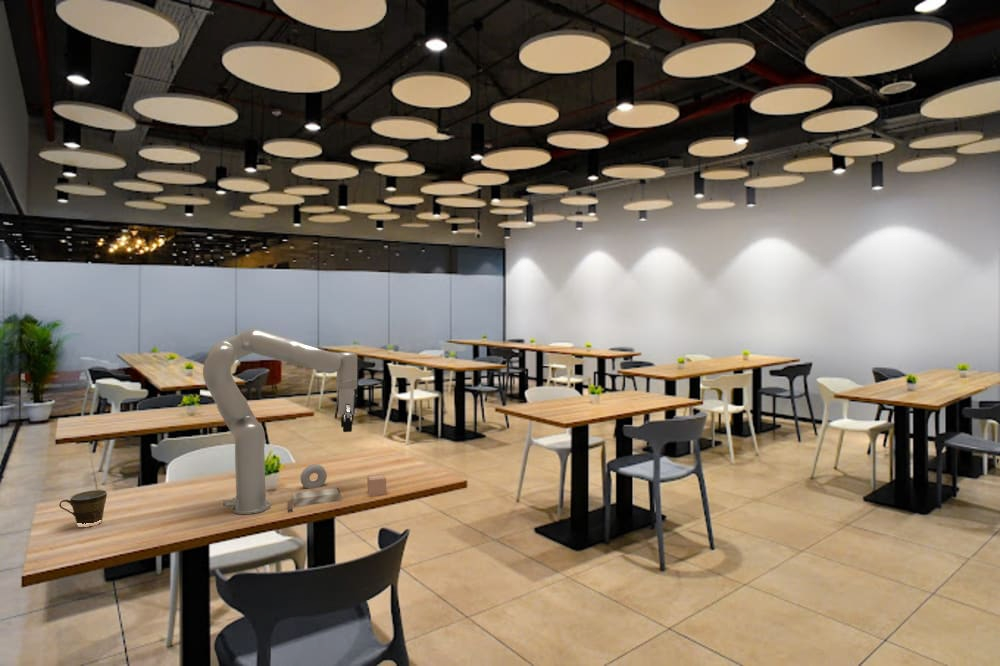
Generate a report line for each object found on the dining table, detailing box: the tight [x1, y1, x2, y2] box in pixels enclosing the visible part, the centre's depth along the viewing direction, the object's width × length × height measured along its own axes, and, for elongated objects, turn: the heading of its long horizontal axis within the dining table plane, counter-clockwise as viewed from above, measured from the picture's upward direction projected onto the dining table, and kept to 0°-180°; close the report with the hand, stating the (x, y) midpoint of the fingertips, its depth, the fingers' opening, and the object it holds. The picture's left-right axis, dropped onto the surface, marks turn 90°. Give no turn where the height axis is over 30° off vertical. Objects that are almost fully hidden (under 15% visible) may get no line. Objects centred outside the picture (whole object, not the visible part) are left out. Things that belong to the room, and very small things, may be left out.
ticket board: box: [286, 487, 342, 513], centre depth 213 cm, size 36×10×4 cm, turn 111°
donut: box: [300, 463, 328, 489], centre depth 227 cm, size 10×4×10 cm, turn 121°
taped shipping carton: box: [366, 473, 387, 497], centre depth 218 cm, size 6×6×6 cm
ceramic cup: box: [58, 489, 108, 524], centre depth 192 cm, size 13×10×10 cm
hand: (346, 429), depth 222 cm, fingers open, 9 cm apart
